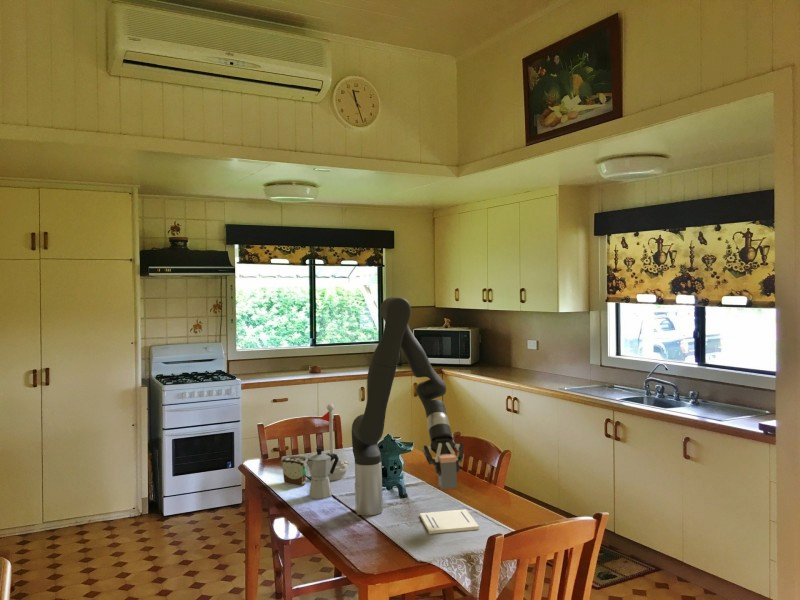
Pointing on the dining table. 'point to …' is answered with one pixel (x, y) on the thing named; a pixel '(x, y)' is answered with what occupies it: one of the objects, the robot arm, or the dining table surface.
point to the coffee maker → (321, 474)
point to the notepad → (448, 521)
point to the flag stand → (340, 467)
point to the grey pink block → (447, 471)
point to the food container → (294, 470)
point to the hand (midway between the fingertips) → (448, 473)
